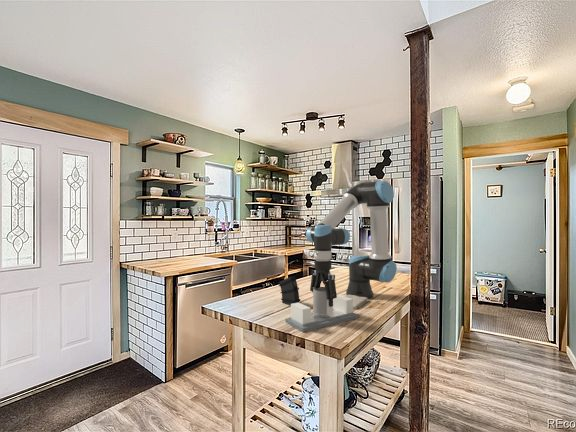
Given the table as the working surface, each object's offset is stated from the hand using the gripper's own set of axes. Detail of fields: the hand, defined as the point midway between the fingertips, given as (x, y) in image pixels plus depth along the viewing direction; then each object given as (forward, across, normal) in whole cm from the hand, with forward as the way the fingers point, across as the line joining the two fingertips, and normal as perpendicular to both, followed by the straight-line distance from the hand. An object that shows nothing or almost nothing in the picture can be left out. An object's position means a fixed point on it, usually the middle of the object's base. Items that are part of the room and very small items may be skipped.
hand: (322, 310), depth 133 cm
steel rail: (+3, 0, 0) cm, 3 cm away
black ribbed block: (+4, -28, 0) cm, 28 cm away
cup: (+1, 0, 0) cm, 1 cm away
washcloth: (+5, -11, +29) cm, 31 cm away
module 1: (+2, 0, -12) cm, 12 cm away
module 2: (+2, 0, +12) cm, 12 cm away
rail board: (+4, 0, 0) cm, 4 cm away
